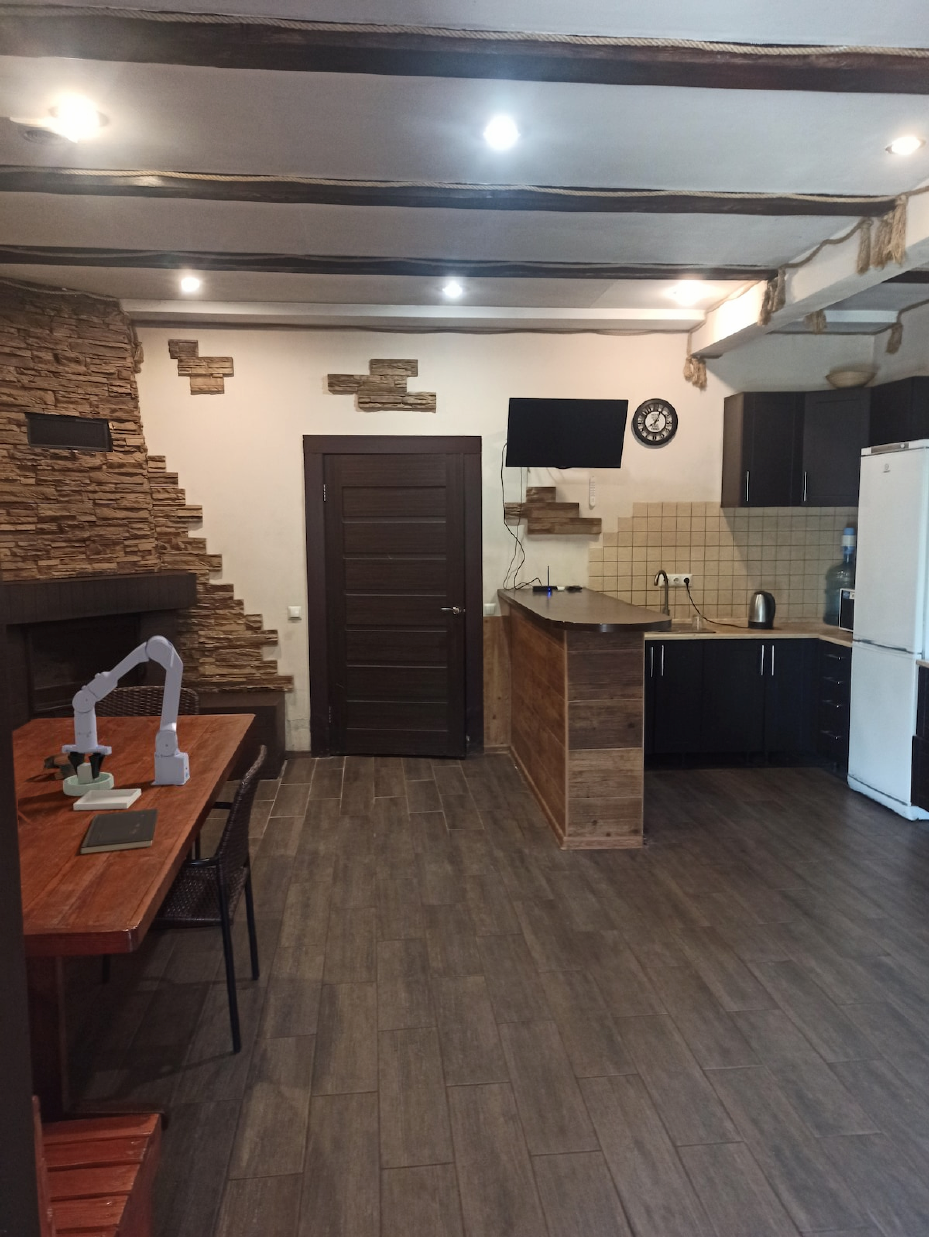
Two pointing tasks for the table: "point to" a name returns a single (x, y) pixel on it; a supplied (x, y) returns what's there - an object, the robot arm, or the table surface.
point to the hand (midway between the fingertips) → (88, 777)
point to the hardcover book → (120, 831)
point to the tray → (107, 799)
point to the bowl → (87, 784)
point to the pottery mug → (60, 765)
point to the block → (85, 773)
